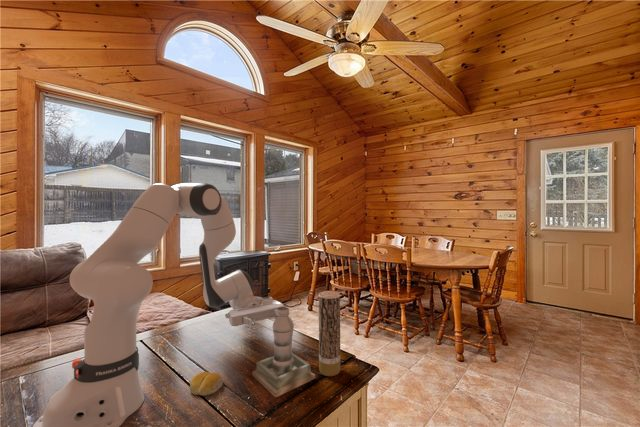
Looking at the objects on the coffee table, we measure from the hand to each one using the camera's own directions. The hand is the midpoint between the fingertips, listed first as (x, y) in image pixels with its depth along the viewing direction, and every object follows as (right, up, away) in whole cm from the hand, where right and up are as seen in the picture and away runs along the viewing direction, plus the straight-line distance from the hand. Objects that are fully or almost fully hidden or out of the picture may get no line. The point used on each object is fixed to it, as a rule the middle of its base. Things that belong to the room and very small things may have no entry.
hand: (265, 319), depth 99 cm
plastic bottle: (+7, -13, -10) cm, 18 cm away
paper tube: (+22, -14, -7) cm, 27 cm away
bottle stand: (+7, -14, -10) cm, 19 cm away
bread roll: (-15, -15, -15) cm, 25 cm away
